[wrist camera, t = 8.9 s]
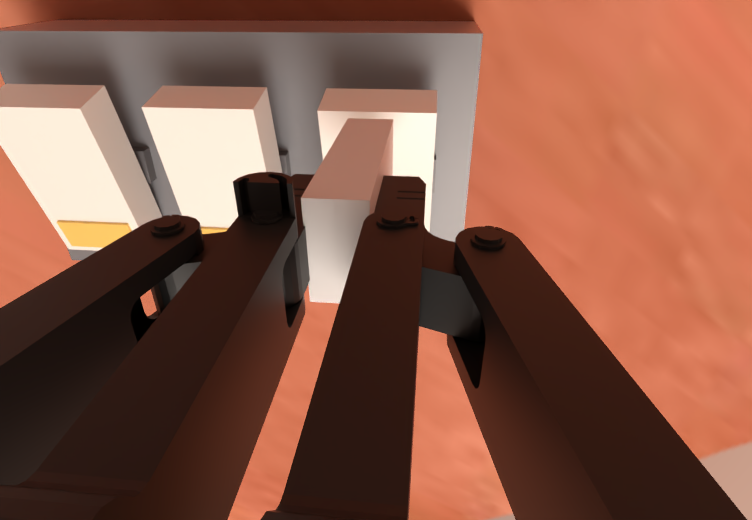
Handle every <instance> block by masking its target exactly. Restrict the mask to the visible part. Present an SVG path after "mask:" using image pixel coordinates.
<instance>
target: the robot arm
mask: <svg viewBox="0 0 752 520" xmlns="http://www.w3.org/2000/svg"><path fill="white" fill-rule="evenodd" d="M233 187H234V193H235V199H236V205H237V211H238V217H237V218H236V219H235V221H234V222H233V223H232V225H231V226H230V227H229V228H228V230H227V231H225V232H218V233H209V234H202V230H201V226H200V222H199V221H198V220H197V219H196V218H193V217H190V216H180V215H171V216H170V215H166V216H162V217H161V218H158V219H154V220H152V221H149V222H147V223H145V224H143V225H141V226H139V227H138V228H136V229H134V230H133V231H131V232H129V233H128V234H126V235H124V236H122V237H121V238H119V239H117V240H116V241H114V242H112V243H111V244H109V245H107V246H105V247H104V248H102V249H100V250H99V251H97V252H95V253H94V254H92V255H90V256H88V257H87V258H85V259H83V260H82V261H80V262H78V263H77V264H75V265H73V266H71V267H70V268H68V269H66V270H65V271H63V272H61V273H59V274H58V275H56V276H54V277H53V278H51V279H49V280H48V281H46V282H44V283H42V284H41V285H39V286H37V287H36V288H34V289H32V290H31V291H29V292H27V293H25V294H24V295H22V296H20V297H19V298H17V299H15V300H14V301H12V302H10V303H8V304H7V305H5V306H3V307H2V308H0V520H227V519H228V516H229V514H230V511H231V508H232V506H233V503H234V500H235V498H236V495H237V493H238V490H239V487H240V485H241V482H242V479H243V477H244V474H245V471H246V469H247V466H248V463H249V461H250V458H251V455H252V453H253V450H254V447H255V445H256V442H257V439H258V437H259V434H260V432H261V429H262V426H263V424H264V421H265V418H266V416H267V413H268V410H269V408H270V405H271V402H272V400H273V397H274V394H275V392H276V389H277V386H278V384H279V381H280V378H281V376H282V373H283V370H284V368H285V365H286V363H287V360H288V357H289V355H290V352H291V349H292V347H293V344H294V341H295V339H296V336H297V333H298V331H299V328H300V325H301V323H302V320H303V317H304V315H305V300H304V293H305V291H306V288H307V286H308V284H309V295H310V302H326V303H340V304H339V307H338V310H337V314H336V317H335V321H334V324H333V327H332V331H331V334H330V337H329V341H328V344H327V348H326V351H325V354H324V358H323V361H322V365H321V368H320V371H319V375H318V378H317V382H316V385H315V388H314V392H313V395H312V398H311V402H310V405H309V409H308V412H307V415H306V419H305V422H304V426H303V429H302V432H301V436H300V439H299V443H298V446H297V449H296V453H295V456H294V459H293V463H292V466H291V470H290V473H289V476H288V480H287V483H286V487H285V490H284V493H283V496H282V499H281V502H280V504H279V506H278V507H277V509H276V510H273V511H266V513H265V514H264V516H263V517H262V518H261V520H408V518H409V500H410V482H411V463H412V445H413V427H414V408H415V390H416V372H417V353H418V337H419V326H421V327H425V328H428V329H431V330H435V331H438V332H442V333H445V334H447V345H448V347H449V350H450V353H451V355H452V358H453V360H454V363H455V365H456V368H457V370H458V373H459V376H460V378H461V381H462V383H463V386H464V388H465V391H466V394H467V396H468V399H469V401H470V404H471V406H472V409H473V411H474V414H475V417H476V419H477V422H478V424H479V427H480V429H481V432H482V434H483V437H484V440H485V442H486V445H487V447H488V450H489V452H490V455H491V458H492V460H493V463H494V465H495V468H496V470H497V473H498V475H499V478H500V481H501V483H502V486H503V488H504V491H505V493H506V496H507V498H508V501H509V504H510V506H511V509H512V511H513V514H514V516H515V519H516V520H747V519H746V518H745V517H744V515H743V514H742V513H741V512H740V510H739V509H738V508H737V507H736V505H735V504H734V503H733V502H732V501H731V499H730V498H729V497H728V496H727V494H726V493H725V492H724V491H723V490H722V488H721V487H720V486H719V485H718V483H717V482H716V481H715V480H714V478H713V477H712V476H711V475H710V473H709V472H708V471H707V470H706V468H705V467H704V466H703V465H702V463H701V462H700V461H699V460H698V459H697V457H696V456H695V455H694V454H693V452H692V451H691V450H690V449H689V447H688V446H687V445H686V444H685V443H684V441H683V440H682V439H681V438H680V436H679V435H678V434H677V433H676V431H675V430H674V429H673V428H672V426H671V425H670V424H669V423H668V422H667V420H666V419H665V418H664V417H663V415H662V414H661V413H660V412H659V410H658V409H657V408H656V407H655V405H654V404H653V403H652V402H651V401H650V399H649V398H648V397H647V396H646V394H645V393H644V392H643V391H642V389H641V388H640V387H639V386H638V385H637V383H636V382H635V381H634V380H633V378H632V377H631V376H630V375H629V373H628V372H627V371H626V370H625V368H624V367H623V366H622V365H621V364H620V362H619V361H618V360H617V359H616V357H615V356H614V355H613V354H612V352H611V351H610V350H609V349H608V347H607V346H606V345H605V344H604V343H603V341H602V340H601V339H600V338H599V336H598V335H597V334H596V333H595V331H594V330H593V329H592V328H591V327H590V325H589V324H588V323H587V322H586V320H585V319H584V318H583V317H582V315H581V314H580V313H579V312H578V310H577V309H576V308H575V307H574V306H573V304H572V303H571V302H570V301H569V299H568V298H567V297H566V296H565V294H564V293H563V292H562V291H561V289H560V288H559V287H558V286H557V285H556V283H555V282H554V281H553V280H552V278H551V277H550V276H549V275H548V273H547V272H546V271H545V270H544V269H543V267H542V266H541V265H540V264H539V262H538V261H537V260H536V259H535V257H534V256H533V255H532V254H531V252H530V251H529V250H528V249H527V248H526V246H525V245H524V244H523V243H522V241H521V240H520V239H519V238H518V237H516V236H515V235H514V234H513V233H510V232H508V231H505V230H503V229H501V228H498V227H495V228H494V227H493V226H485V227H473V228H467V229H465V230H463V231H461V232H459V233H458V235H457V236H456V238H455V242H453V241H448V240H445V239H441V238H439V237H436V236H434V235H432V234H431V233H430V232H428V231H427V229H426V228H425V225H424V216H425V196H426V183H425V182H424V181H423V180H422V179H421V178H420V177H416V176H393V119H359V118H348V119H347V121H346V122H345V124H344V126H343V127H342V129H341V131H340V132H339V134H338V136H337V138H336V139H335V141H334V143H333V144H332V146H331V148H330V149H329V151H328V153H327V154H326V156H325V158H324V160H323V161H322V163H321V165H320V166H319V168H318V170H317V171H316V173H315V174H294V175H293V176H291V177H290V176H289V175H286V174H283V173H278V172H258V173H252V174H247V175H244V176H242V177H239V178H237V179H236V180H234V181H233ZM150 289H151V291H152V295H153V298H154V302H155V305H156V309H157V311H156V312H154V313H153V314H152V315H150V316H148V317H147V316H146V314H145V312H144V309H143V306H142V302H141V299H140V297H141V296H142V295H143V294H145V293H146V292H147V291H149V290H150Z"/></svg>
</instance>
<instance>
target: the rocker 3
mask: <svg viewBox="0 0 752 520" xmlns="http://www.w3.org/2000/svg"><path fill="white" fill-rule="evenodd" d="M317 113H318V121H319V130H320V139H321V147H322V156H323V160H324V158H325V156H326V154H327V153H328V151H329V149H330V148H331V146H332V144H333V143H334V141H335V139H336V138H337V136H338V134H339V132H340V131H341V129H342V127H343V126H344V124H345V122H346V121H347V119H348V118H359V119H393V176H416V177H420V178H421V179H422V180H423V181H424V182H425V183H426V196H425V216H424V225H425V228H426V229H427V231H428V232H430V216H431V200H432V183H433V167H434V150H435V134H436V118H437V90H404V89H343V88H326V90H325V93H324V95H323V98H322V100H321V103H320V105H319V108H318V110H317Z"/></svg>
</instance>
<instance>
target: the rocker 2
mask: <svg viewBox="0 0 752 520" xmlns="http://www.w3.org/2000/svg"><path fill="white" fill-rule="evenodd" d="M142 110H143V113H144V115H145V118H146V121H147V123H148V126H149V129H150V131H151V134H152V137H153V139H154V142H155V145H156V147H157V150H158V153H159V155H160V158H161V161H162V163H163V166H164V169H165V171H166V174H167V177H168V179H169V182H170V185H171V187H172V190H173V193H174V195H175V198H176V201H177V204H178V206H179V209H180V212H181V214H182V216H190V217H193V218H196V219H197V220H198V221H199V222H200V226H201V230H202V234H209V233H218V232H225V231H227V230H228V228H229V227H230V226H231V225H232V223H233V222H234V221H235V219H236V218H237V217H238V211H237V205H236V199H235V193H234V187H233V181H234V180H236V179H237V178H239V177H242V176H244V175H247V174H252V173H258V172H278V173H282V168H281V162H280V157H279V151H278V146H277V140H276V135H275V130H274V124H273V119H272V113H271V108H270V102H269V97H268V92H267V87H220V86H162V87H161V88H160V89H159V90H158V91H157V92H156V93H155V94H154V95H153V96H152V97H151V98H150V99H149V100H148V101H147V102H146V103H145V104H144V105H143V106H142Z"/></svg>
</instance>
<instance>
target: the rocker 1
mask: <svg viewBox="0 0 752 520" xmlns="http://www.w3.org/2000/svg"><path fill="white" fill-rule="evenodd" d="M0 145H1V147H2V148H3V150H4V151H5V153H6V154H7V156H8V157H9V159H10V160H11V162H12V164H13V165H14V167H15V168H16V170H17V171H18V173H19V174H20V176H21V177H22V179H23V180H24V182H25V183H26V185H27V186H28V188H29V189H30V191H31V192H32V194H33V195H34V197H35V199H36V200H37V202H38V203H39V205H40V206H41V208H42V209H43V211H44V212H45V214H46V215H47V217H48V218H49V220H50V221H51V223H52V224H53V226H54V227H55V229H56V230H57V232H58V234H59V235H60V237H61V238H62V240H63V241H64V243H65V244H66V246H67V247H68V249H72V250H93V251H99V250H100V249H102V248H104V247H105V246H107V245H109V244H111V243H112V242H114V241H116V240H117V239H119V238H121V237H122V236H124V235H126V234H128V233H129V232H131V231H133V230H134V229H136V228H138V227H139V226H141V225H143V224H145V223H147V222H149V221H152V220H154V219H158V218H161V217H162V215H161V212H160V210H159V208H158V206H157V203H156V201H155V199H154V197H153V194H152V192H151V190H150V187H149V185H148V183H147V181H146V178H145V176H144V174H143V172H142V169H141V167H140V165H139V163H138V160H137V158H136V156H135V153H134V151H133V149H132V147H131V144H130V142H129V140H128V138H127V135H126V133H125V131H124V129H123V126H122V124H121V122H120V119H119V117H118V115H117V113H116V110H115V108H114V106H113V104H112V101H111V99H110V97H109V95H108V92H107V90H106V88H105V86H104V85H52V84H5V85H4V86H2V87H1V88H0Z"/></svg>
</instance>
